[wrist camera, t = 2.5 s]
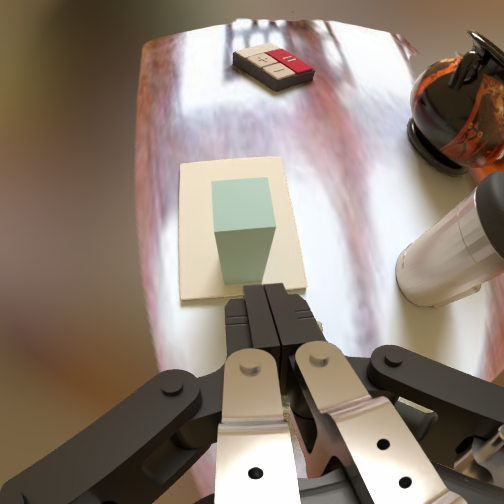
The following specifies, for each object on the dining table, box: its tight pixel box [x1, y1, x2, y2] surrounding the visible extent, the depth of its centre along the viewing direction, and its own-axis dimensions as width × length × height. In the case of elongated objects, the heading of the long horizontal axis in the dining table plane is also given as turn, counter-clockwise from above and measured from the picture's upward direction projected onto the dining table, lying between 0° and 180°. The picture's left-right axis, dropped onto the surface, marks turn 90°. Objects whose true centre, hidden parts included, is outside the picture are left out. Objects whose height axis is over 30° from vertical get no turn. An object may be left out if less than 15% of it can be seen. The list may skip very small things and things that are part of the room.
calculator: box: [233, 43, 315, 92], centre depth 50 cm, size 11×4×15 cm
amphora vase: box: [407, 29, 504, 176], centre depth 32 cm, size 22×22×28 cm
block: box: [211, 177, 276, 285], centre depth 27 cm, size 4×4×14 cm
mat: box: [179, 156, 307, 300], centre depth 36 cm, size 20×15×1 cm
